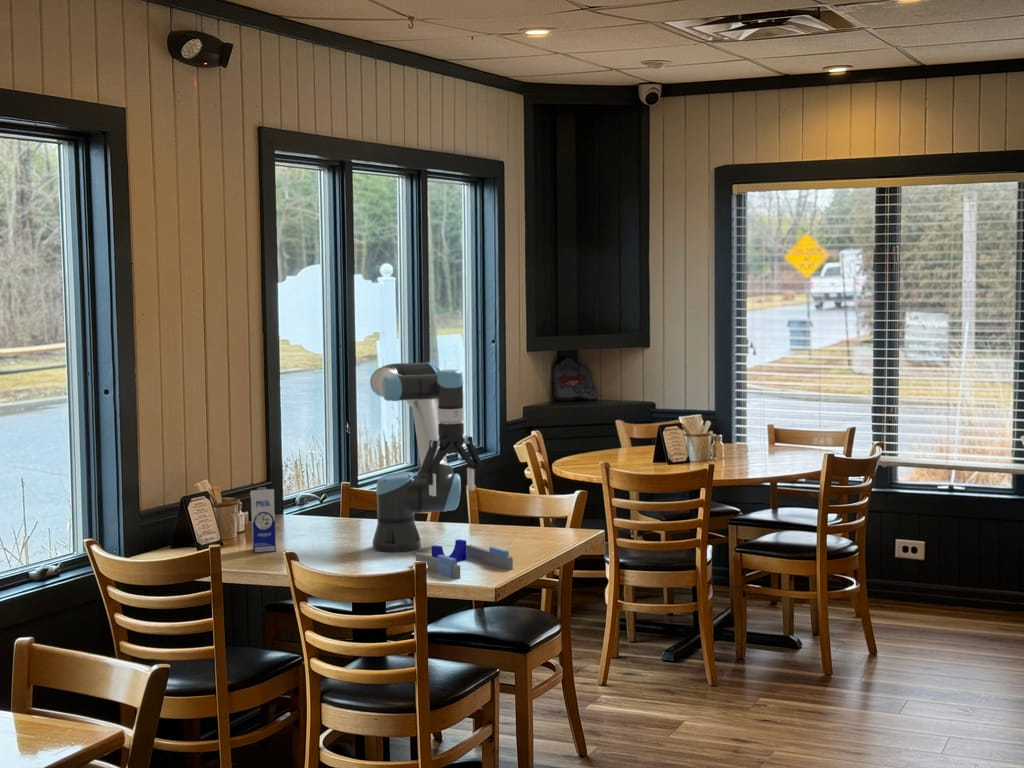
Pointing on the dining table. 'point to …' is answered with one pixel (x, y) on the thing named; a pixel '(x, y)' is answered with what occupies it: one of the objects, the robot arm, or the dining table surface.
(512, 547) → the dining table surface
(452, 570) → the blue grey block group
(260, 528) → the milk carton
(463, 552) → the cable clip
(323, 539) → the dining table surface
